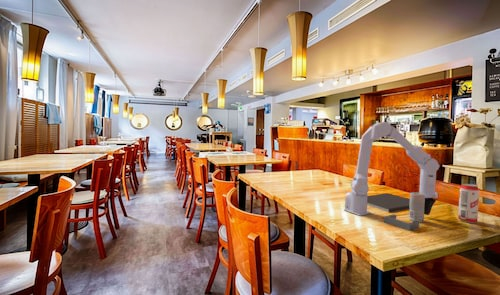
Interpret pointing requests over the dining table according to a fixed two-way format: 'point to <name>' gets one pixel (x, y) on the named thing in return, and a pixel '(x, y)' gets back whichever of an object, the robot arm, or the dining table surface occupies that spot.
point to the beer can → (468, 203)
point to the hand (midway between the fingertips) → (425, 214)
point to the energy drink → (416, 207)
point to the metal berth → (400, 223)
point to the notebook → (388, 202)
